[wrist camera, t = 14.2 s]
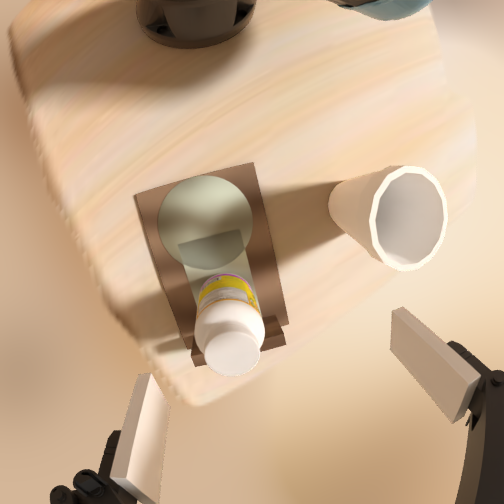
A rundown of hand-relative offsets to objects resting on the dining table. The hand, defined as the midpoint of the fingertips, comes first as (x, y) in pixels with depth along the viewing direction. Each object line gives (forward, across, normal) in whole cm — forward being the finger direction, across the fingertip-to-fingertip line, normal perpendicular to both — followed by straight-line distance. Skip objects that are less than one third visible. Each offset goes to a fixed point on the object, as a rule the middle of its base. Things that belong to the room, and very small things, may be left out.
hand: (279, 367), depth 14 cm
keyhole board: (+21, -4, -1) cm, 22 cm away
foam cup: (+22, +14, +2) cm, 26 cm away
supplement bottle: (+21, -3, -5) cm, 22 cm away
